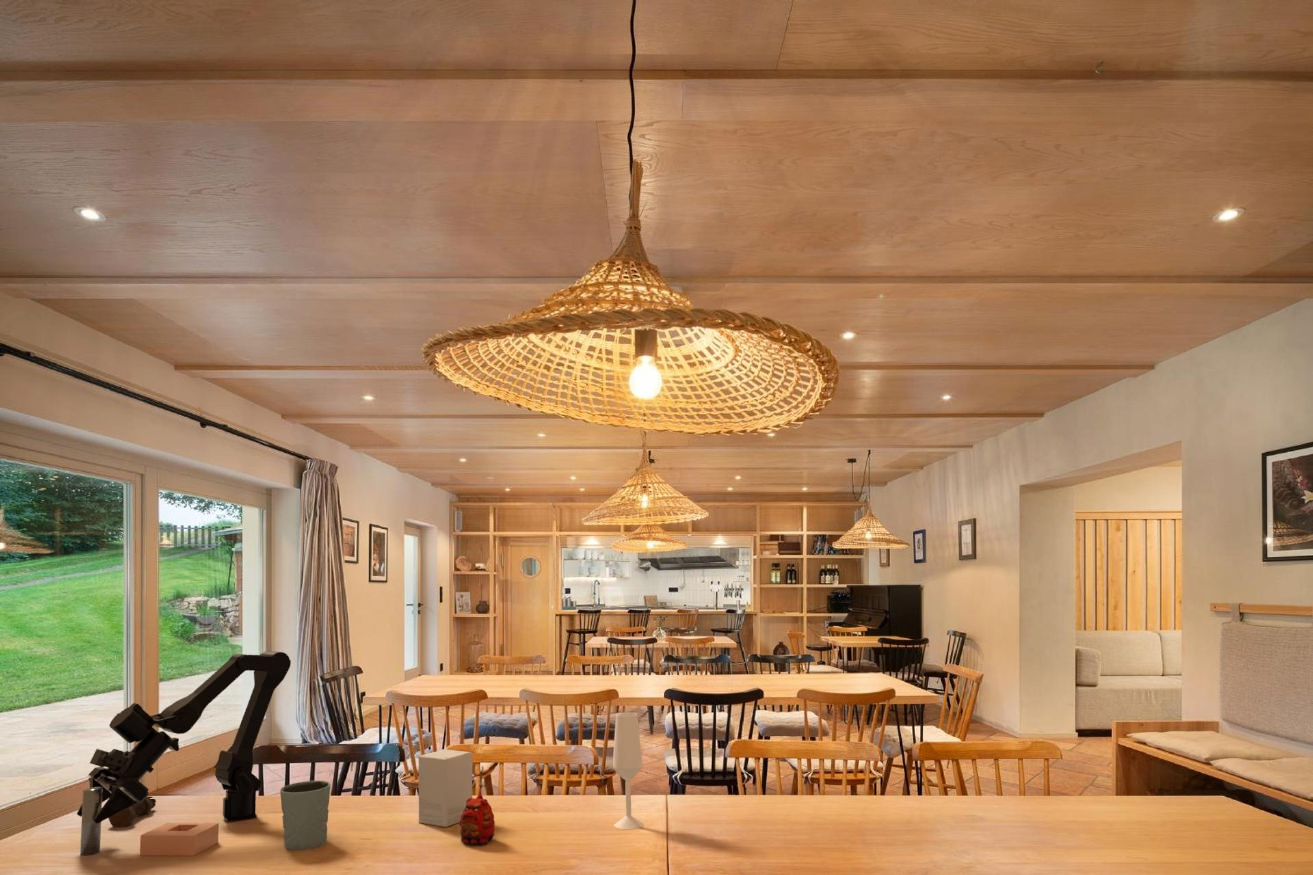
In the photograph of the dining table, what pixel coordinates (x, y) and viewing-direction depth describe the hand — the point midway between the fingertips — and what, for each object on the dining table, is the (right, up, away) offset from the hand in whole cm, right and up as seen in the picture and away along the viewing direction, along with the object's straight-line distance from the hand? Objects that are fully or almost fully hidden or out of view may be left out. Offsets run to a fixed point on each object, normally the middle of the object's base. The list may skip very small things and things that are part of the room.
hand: (86, 818), depth 201 cm
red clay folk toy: (+83, -5, +1) cm, 83 cm away
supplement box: (+72, -8, +18) cm, 75 cm away
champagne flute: (+115, -6, +10) cm, 115 cm away
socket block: (+19, -7, +1) cm, 20 cm away
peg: (+1, -7, 0) cm, 7 cm away
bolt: (-4, -11, +26) cm, 29 cm away
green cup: (+45, -6, +2) cm, 46 cm away
